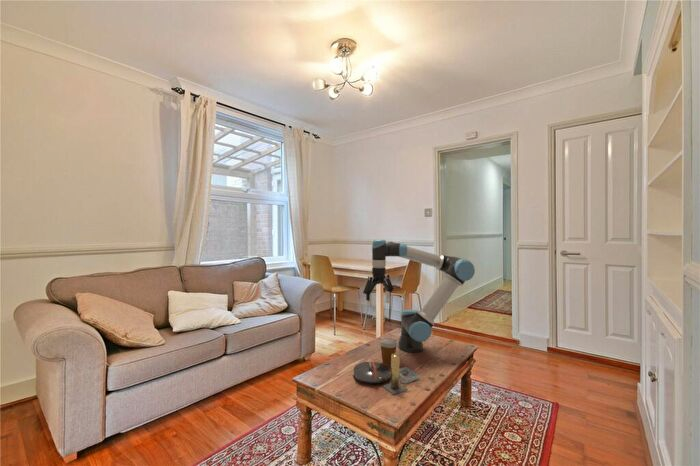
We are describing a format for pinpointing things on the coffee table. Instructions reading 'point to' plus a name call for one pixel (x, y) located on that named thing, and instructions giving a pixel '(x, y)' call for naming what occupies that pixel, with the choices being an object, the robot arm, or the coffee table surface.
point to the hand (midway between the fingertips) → (378, 304)
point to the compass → (371, 372)
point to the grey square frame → (411, 375)
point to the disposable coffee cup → (387, 349)
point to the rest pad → (401, 389)
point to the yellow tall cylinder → (395, 371)
